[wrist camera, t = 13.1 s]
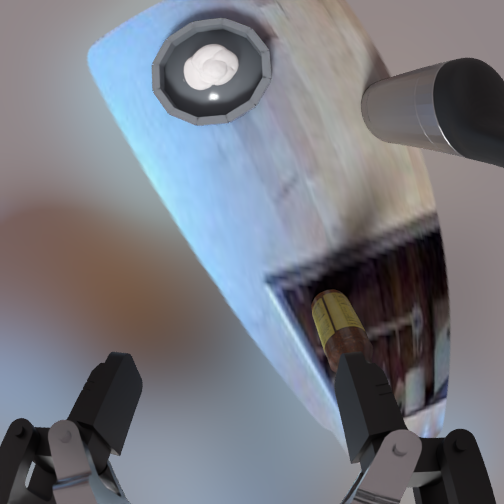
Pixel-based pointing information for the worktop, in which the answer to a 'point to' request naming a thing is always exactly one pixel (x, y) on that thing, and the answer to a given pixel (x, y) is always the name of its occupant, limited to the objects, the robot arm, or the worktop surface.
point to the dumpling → (210, 67)
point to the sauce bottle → (339, 327)
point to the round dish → (217, 96)
